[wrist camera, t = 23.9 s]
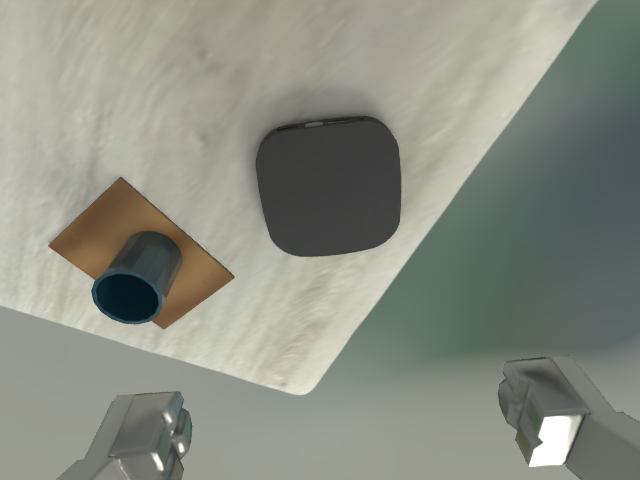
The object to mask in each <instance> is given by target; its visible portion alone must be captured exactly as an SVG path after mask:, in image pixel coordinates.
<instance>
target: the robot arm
mask: <svg viewBox="0 0 640 480" xmlns="http://www.w3.org/2000/svg"><path fill="white" fill-rule="evenodd" d="M502 372H503V374H504V376H505V379H504V380H503V381H502V382H501V383H500V384H499V390H498V396H499V404H500V407H501V410H502V413H503V415H504V418H505V420H506V422H507V423H508V424H510V425H511V426H512V427H513V428H515V429H516V430H517V435H516V439H515V440H516V442H517V444H518V446H519V448H520V450H521V452H522V454H523V456H524V458H525V460H526V462H527V464H528V466H545V465H562V464H566V467H567V468H568V469H569V470H570V471H571V472H573V473H574V474H575V475H576V476H577V477H578V478H579V479H581V480H640V422H639V421H637V420H636V419H634V418H632V417H631V416H629V415H627V414H625V413H624V412H616V411H615V410H614V409H613V408H612V406H611V405H610V404H609V403H608V401H607V400H606V399H605V397H604V396H603V395H602V394H601V392H600V391H599V390H598V389H597V387H596V386H595V385H594V383H593V382H592V381H591V380H590V379H589V377H588V376H587V375H586V373H585V372H584V371H583V370H582V368H581V367H580V366H579V365H578V363H577V362H576V361H575V360H574V358H572V357H571V356H569V355H568V356H556V357H547V358H546V357H541V358H532V359H522V360H512V361H507V362H506V363H505V364H504V366H503V371H502ZM183 402H184V399H183V397H182V395H181V392H177V391H176V392H160V393H144V394H132V395H118V396H117V397H116V398H115V399H114V400H113V401H112V402H111V404H110V406H109V408H108V411H107V413H106V415H105V417H104V419H103V421H102V423H101V425H100V427H99V429H98V431H97V433H96V436H95V437H94V439H93V442H92V444H91V446H90V448H89V450H88V452H87V454H86V456H85V458H84V460H77V461H76V462H75V463H74V464H73V465H72V466H71V467H69V468H68V469H67V470H66V471H65V472H64V473H63V474H62V475H61V476H60V477H58V478H57V479H56V480H181V479H182V475H183V471H184V468H183V465H182V463H181V461H180V460H181V459H182V458H183V457H184V456H185V454H186V453H187V452H188V451H189V447H190V443H191V437H192V423H191V417H190V414H189V412H188V411H187V410H185V409H183V408H182V405H183Z"/></svg>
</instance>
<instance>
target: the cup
mask: <svg viewBox="0 0 640 480" xmlns="http://www.w3.org/2000/svg"><path fill="white" fill-rule="evenodd" d="M181 265H182V254H181V251H180V249H179V247H178V246H177V245H176V243H175V242H174V241H173V240H171V239H170V238H169V237H167V236H165V235H163V234H161V233H158V232H154V231H141V232H137V233H135V234H133V235H131V236H130V237H128V238H127V240H126V241H125V242H124V243H123V244H122V245H121V247H120V248H119V249H118V251H117V252H116V253H115V255H114V256H113V257H112V259H111V260H110V261H109V263H108V264H107V265H106V267H105V268H104V269H103V271H102V272H101V273H100V275H99V276H98V277H97V279H96V280H95V281H94V284H93V287H92V290H91V292H92V297H93V301H94V303H95V304H96V306H97V307H98V308H99V310H100V311H101V312H102V313H104V314H105V315H107V316H108V317H110V318H111V319H113V320H116V321H119V322H122V323H125V324H141V323H145V322H149V321H151V320H152V319H154V318H155V317H156V316H158V315H159V313H160V311H161V309H162V307H163V304H164V302H165V300H166V298H167V296H168V294H169V291H170V289H171V287H172V285H173V283H174V281H175V278H176V276H177V274H178V272H179V270H180V267H181Z"/></svg>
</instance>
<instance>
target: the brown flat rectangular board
mask: <svg viewBox="0 0 640 480" xmlns="http://www.w3.org/2000/svg"><path fill="white" fill-rule="evenodd" d="M141 231H154V232H158V233H161V234H163V235H165V236H167V237H169V238H170V239H171V240H173V241H174V242H175V243H176V245H177V246H178V247H179V249H180V251H181V254H182V265H181V267H180V270H179V272H178V274H177V276H176V278H175V281H174V283H173V285H172V287H171V289H170V291H169V294H168V296H167V298H166V300H165V302H164V304H163V307H162V309H161V311H160V313H159V315H158V316H156V317H155V318H154V319H152V320H151V321H153V322H154V323H155V324H157V325H158V326H160V327H161V328H162V329H166V328H167V327H168V326H170V325H171V324H172V323H174V322H175V321H176V320H178V319H179V318H181V317H182V316H183V315H185V314H186V313H187V312H189V311H190V310H191V309H193V308H194V307H196V306H197V305H198V304H200V303H201V302H202V301H204V300H205V299H207V298H208V297H209V296H211V295H212V294H213V293H215V292H216V291H217V290H219V289H220V288H222V287H223V286H224V285H226V284H227V283H228V282H230V281H231V280H232V279H234V277H235V276H234V275H232V274H231V273H230V272H229V271H228V270H227V269H226V268H224V267H223V266H222V265H221V264H220V263H219V262H218V261H216V260H215V259H214V258H213V257H212V256H211V255H209V254H208V253H207V252H206V251H205V250H204V249H203V248H201V247H200V246H199V245H198V244H197V243H196V242H195V241H193V240H192V239H191V238H190V237H189V236H188V235H187V234H185V233H184V232H183V231H182V230H181V229H180V228H179V227H177V226H176V225H175V224H174V223H173V222H172V221H171V220H169V219H168V218H167V217H166V216H165V215H164V214H163V213H161V212H160V211H159V210H158V209H157V208H156V207H155V206H153V205H152V204H151V203H150V202H149V201H148V200H147V199H145V198H144V197H143V196H142V195H141V194H140V193H139V192H137V191H136V190H135V189H134V188H133V187H132V186H131V185H129V184H128V183H127V182H126V181H125V180H124V179H123V178H121V177H120V178H119V179H118V180H117V181H116V182H115V183H114V184H113V185H112V186H111V187H110V188H109V189H108V190H107V191H106V192H104V193H103V194H102V195H101V196H100V197H99V198H98V199H97V200H96V201H95V202H94V203H93V204H92V205H91V206H90V207H89V208H87V209H86V210H85V211H84V212H83V213H82V214H81V215H80V216H79V217H78V218H77V219H76V220H75V221H74V222H73V223H72V224H70V225H69V226H68V227H67V228H66V229H65V230H64V231H63V232H62V233H61V234H60V235H59V236H58V237H57V238H56V239H55V240H53V241H52V242H51V243H50V244H49V245H48V246H49V247H50V248H51V249H53V250H54V251H56V252H57V253H58V254H60V255H61V256H62V257H64V258H65V259H67V260H68V261H69V262H71V263H72V264H74V265H75V266H76V267H78V268H79V269H80V270H82V271H83V272H85V273H86V274H87V275H89V276H90V277H92V278H93V279H94V280H96V279H97V277H98V276H99V275H100V273H101V272H102V271H103V269H104V268H105V267H106V265H107V264H108V263H109V261H110V260H111V259H112V257H113V256H114V255H115V253H116V252H117V251H118V249H119V248H120V247H121V245H122V244H123V243H124V242H125V241H126V240H127V238H128V237H130V236H131V235H133V234H135V233H137V232H141Z"/></svg>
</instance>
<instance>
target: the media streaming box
mask: <svg viewBox="0 0 640 480" xmlns="http://www.w3.org/2000/svg"><path fill="white" fill-rule="evenodd" d="M256 171H257V179H258V186H259V192H260V197H261V202H262V207H263V212H264V216H265V220H266V224H267V227H268V231H269V234H270V237H271V239H272V241H273V242H274V243H275V245H276V246H278V247H279V248H280V249H281V250H283V251H285V252H287V253H289V254H291V255H295V256H300V257H313V256H330V255H339V254H346V253H352V252H358V251H363V250H367V249H371V248H375V247H377V246H379V245H381V244H383V243H384V242H386V241H387V240H388V239H389V238H390V237H391V236H392V235H393V234H394V233H395V231H396V229H397V228H398V225H399V222H400V210H401V172H400V158H399V148H398V144H397V142H396V139H395V138H394V136H393V135H392V133H391V132H390V130H389V129H388V128H387V127H386V126H385V125H384V124H383V123H382V122H380V121H379V120H376V119H374V118H371V117H365V116H364V117H349V118H338V119H329V120H321V121H313V122H307V123H300V124H294V125H289V126H284V127H280V128H277V129H275V130H274V131H272V132H271V133H269V134H268V135H267V136H266V137H265V139H264V140H263V142H262V143H261V145H260V148H259V151H258V154H257V158H256Z"/></svg>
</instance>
